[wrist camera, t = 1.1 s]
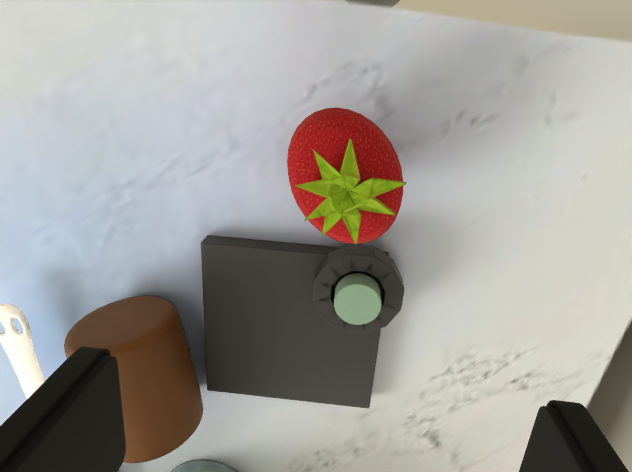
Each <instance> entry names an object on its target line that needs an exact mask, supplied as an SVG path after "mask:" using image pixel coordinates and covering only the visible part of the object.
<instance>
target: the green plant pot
mask: <svg viewBox="0 0 632 472" xmlns="http://www.w3.org/2000/svg"><path fill="white" fill-rule="evenodd" d="M172 472H237V471H235V470H234V469H232V468H230V467H228V466H226V465H224V464H221V463H218V462H214V461H207V460H197V461H190V462H185V463H183V464H181V465H180V466H178V467H176V469H173V470H172Z"/></svg>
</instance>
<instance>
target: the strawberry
mask: <svg viewBox="0 0 632 472" xmlns="http://www.w3.org/2000/svg"><path fill="white" fill-rule="evenodd" d="M287 164H288V175H289V181H290V185H291V189H292V193H293V195H294V198H295V200H296V202H297V204H298V206H299V208H300V209H301V211H302V212H303V214H304V215H305V217H306V219H305V220H309V221H310V222H311V224H312V225H314V226H315V227H316V228H317V229H318V230H319V231H321V232H322V235H324V234H325V235H327V236H329V237H330V238H332V239H335V240H338V241H340V242H345V243H351V244H355V245H357V244H358V243H365V242H369V241H372V240H374V239H376V238H378V237H380V236H381V235H383V234H384V233H385V232H386V231H387V230H388V229H389V228H390V226H391V225H392V224H393V222H394V221H395V219H396V216H397V214H398V212H399V209H400V206H401V201H402V196H403V185H405V184H406V182H403V177H402V170H401V165H400V162H399V159H398V156H397V154H396V152H395V150H394V148H393V146H392V144H391V142H390V141H389V139H388V138H387V137H386V135H385V134H384V133H383V131H382V130H381V129H380V128H378V127H377V126H376V125H375V124H374V123H373V122H372V121H370V120H369V119H367V118H366V117H364V116H363V115H361V114H359V113H356V112H354V111H351V110H348V109H342V108H327V109H323V110H320V111H317V112H314V113H313V114H311V115H310V116H308V117H307V118H305V119H304V120H303V122H302V123H301V124H300V125H299V126H298V127H297V129H296V131H295V133H294V134H293V136H292V139H291V142H290V146H289V149H288V160H287ZM305 220H304V221H305Z"/></svg>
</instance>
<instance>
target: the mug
mask: <svg viewBox="0 0 632 472" xmlns="http://www.w3.org/2000/svg"><path fill="white" fill-rule="evenodd" d="M82 346H85V347H94V348H103V349H108V350H109V351H110V353H111V356H114V357H116V359H117V362H118V371H119V381H120V390H121V400H122V410H123V420H124V429H125V439H126V454H125V458H124V460H123V462H126V463H140V462H146V461H151V460H154V459H157V458H159V457H162V456H164V455H166V454H168V453H170V452H171V451H173V450H175V449H176V448H178V447H179V446H180V445H182V444H183V443H184V442H185V441H186V440H187V439H188V438H189V437H190V436H191V435H192V434H193V433H194V431H195V430H196V428H197V427H198V425H199V423H200V421H201V417H202V414H203V404H202V399H201V393H200V387H199V383H198V380H197V376H196V373H195V369H194V365H193V362H192V358H191V355H190V351H189V348H188V345H187V341H186V338H185V335H184V331H183V327H182V324H181V321H180V317H179V315H178V312H177V310H176V308H175V306H174V305H173V304H172V303H171V302H169V301H168V300H166V299H164V298H161V297H156V296H138V297H131V298H126V299H122V300H119V301H116V302H113V303H110V304H107V305H105V306H103V307H100V308H98V309H96V310H95V311H93V312H91V313H89V314H88V315H86V316H85V317H83V318H82V319H81V320H79V321H78V322H77V323H76V324H75V325H74V326H73V327H72V329H71V330H70V331H69V333H68V334H67V336H66V339H65V344H64V347H65V354H66V357H67V359H68V358H69V357H70V356H71V355H72V354H73V353H74V352H75V351H76V350H77V349H78V348H79V347H82Z"/></svg>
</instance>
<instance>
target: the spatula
mask: <svg viewBox="0 0 632 472" xmlns="http://www.w3.org/2000/svg"><path fill="white" fill-rule="evenodd" d="M13 317H15V318H17V319H19V321H20V323H21V324H22V326H23V331H24V332H21V331H18V329H17V328H16V326H15V324H14V320H13ZM0 321H1V322H2V324H3V325H4V328H5V333H4V332H1V331H0V342H1V344H2V346H3V348H4V349H5V351H6V353H7V355H8V357H9V359H10V361H11V364H12V366H13V368H14V370H15V373H16V375H17V377H18V379H19V382H20V384H21V386H22V389H23V391H24V393H25V395H26V398H27V399H28V398H29V397H30V396H31V395H32V394H33V393H34V392H35V391H36V390H37V389H38V388H39V387H40V386H41V385H42V384H43V383H44V382H45V378H44V376H43V373H42V370H41V368H40V365H39V363H38V360H37V357H36V354H35V351H34V347H33V344H32V341H31V332H30V327H29V323H28V322H27V320H26V318H25V316H24V314H23V312H22V311H21V310H20V309H19V308H18V307H16V306H14V305H12V304H0Z"/></svg>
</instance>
